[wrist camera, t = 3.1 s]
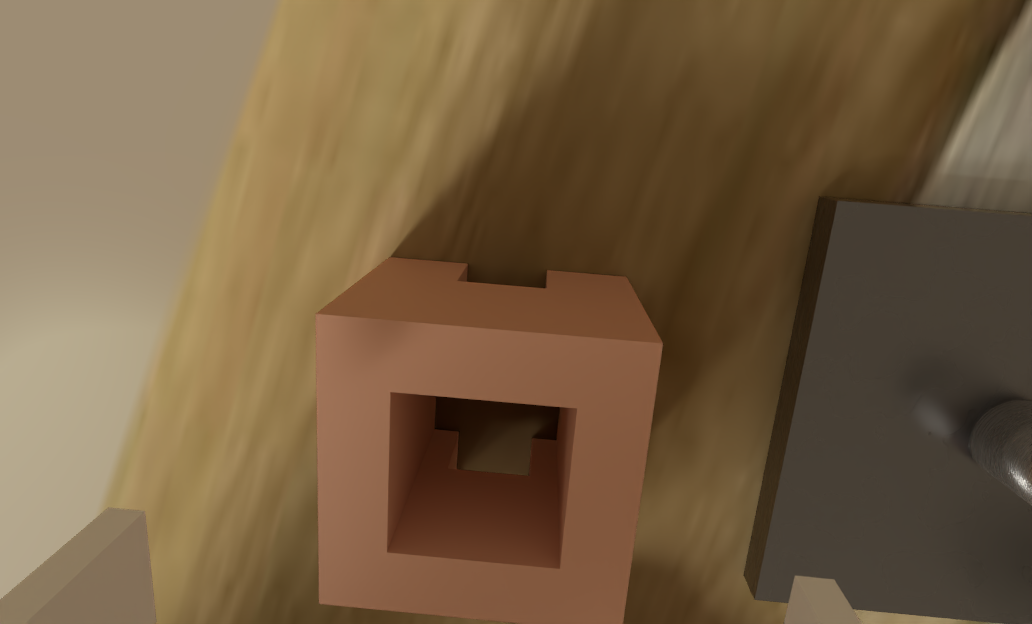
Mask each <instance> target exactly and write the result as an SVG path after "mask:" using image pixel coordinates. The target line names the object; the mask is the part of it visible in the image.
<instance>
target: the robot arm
mask: <svg viewBox="0 0 1032 624" xmlns="http://www.w3.org/2000/svg"><path fill="white" fill-rule="evenodd" d="M155 623H156V612H155V603H154V593H153V583H152V574H151V564H150V554H149V545H148V535H147V525H146V516H145V511H139V510H129V509H119V508H109V507H108V508H107V509H106V510H105V511H104V512H103V513H101V514H100V515H99V516H98V517H97V518H96V519H94V520H93V521H92V522H91V523H90V524H88V525H87V526H86V527H85V528H84V529H83V530H81V531H80V532H79V533H78V534H77V535H76V536H74V537H73V538H72V539H71V540H70V541H69V542H67V543H66V544H65V545H64V546H63V547H62V548H60V549H59V550H58V551H57V552H56V553H55V554H53V555H52V556H51V557H50V558H49V559H47V560H46V561H45V562H44V563H43V564H42V565H40V566H39V567H38V568H37V569H36V570H35V571H33V572H32V573H31V574H30V575H29V576H28V577H26V578H25V579H24V580H23V581H22V582H20V584H18V585H17V586H16V587H15V588H14V589H12V590H11V591H10V592H9V593H8V594H6V595H5V596H4V597H3V598H2V599H1V600H0V624H155ZM784 624H862V623H861V622H860V620H859V618H858V617H857V615H856V614H855V612H854V610H853V609H852V607H851V606H850V604H849V602H848V601H847V599H846V598H845V596H844V594H843V593H842V591H841V589H840V588H839V586H838V585H837V583H836V581H835V580H834V579H825V578H815V577H805V576H795V577H794V582H793V586H792V590H791V594H790V599H789V603H788V607H787V612H786V616H785V620H784Z"/></svg>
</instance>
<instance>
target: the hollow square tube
mask: <svg viewBox="0 0 1032 624" xmlns="http://www.w3.org/2000/svg"><path fill="white" fill-rule="evenodd" d="M467 272H468V264H467V263H455V262H443V261H431V260H418V259H406V258H394V257H389V258H388V259H386V260H385V261H384V262H383V263H381V264H380V265H379V266H377V267H376V268H375V269H373V270H372V271H371V272H370V273H368V274H367V275H366V276H364V277H363V278H362V279H360V280H359V281H358V282H357V283H355V284H354V285H353V286H351V287H350V288H349V289H347V290H346V291H345V292H344V293H342V294H341V295H340V296H338V297H337V298H336V299H334V300H333V301H332V302H331V303H329V304H328V305H327V306H325V307H324V308H323V309H321V310H320V311H319V312H318V313H316V385H317V472H318V558H319V604H326V605H336V606H346V607H356V608H367V609H377V610H387V611H397V612H407V613H418V614H428V615H438V616H448V617H458V618H469V619H479V620H489V621H499V622H509V623H520V624H623V619H624V612H625V606H626V599H627V592H628V585H629V578H630V571H631V564H632V557H633V550H634V543H635V536H636V529H637V522H638V515H639V508H640V501H641V494H642V487H643V480H644V473H645V466H646V459H647V452H648V445H649V438H650V431H651V425H652V418H653V411H654V404H655V397H656V390H657V383H658V376H659V369H660V362H661V355H662V348H663V342H662V341H661V339H660V337H659V335H658V333H657V331H656V330H655V328H654V326H653V324H652V322H651V321H650V319H649V317H648V315H647V313H646V311H645V310H644V308H643V306H642V304H641V302H640V301H639V299H638V297H637V295H636V293H635V291H634V290H633V288H632V286H631V284H630V282H629V280H628V279H627V277H624V276H612V275H600V274H588V273H576V272H564V271H552V270H547V275H546V286H545V288H534V287H523V286H511V285H499V284H487V283H475V282H467ZM436 396H441V397H453V398H464V399H475V400H486V401H498V402H509V403H520V404H532V405H543V406H554V407H560V411H559V421H558V431H557V440H547V439H536V438H532V444H531V455H530V467H529V476H524V475H513V474H502V473H491V472H480V471H470V470H459V469H457V456H458V438H459V432H458V431H447V430H436V429H435V407H436Z"/></svg>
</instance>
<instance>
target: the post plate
mask: <svg viewBox="0 0 1032 624" xmlns="http://www.w3.org/2000/svg"><path fill="white" fill-rule="evenodd" d="M795 576H805V577H815V578H825V579H834V580H835V581H836V583H837V585H838V586H839V588H840V589H841V591H842V593H843V594H844V596H845V598H846V599H847V601H848V602H849V604H850V606H851V607H852V609H856V610H867V611H877V612H888V613H898V614H909V615H919V616H929V617H940V618H950V619H961V620H971V621H981V622H992V623H1002V624H1032V213H1023V212H1010V211H997V210H984V209H972V208H959V207H946V206H933V205H921V204H908V203H895V202H882V201H870V200H857V199H844V198H831V197H819V202H818V207H817V212H816V217H815V222H814V227H813V232H812V237H811V242H810V247H809V252H808V257H807V262H806V267H805V272H804V277H803V282H802V287H801V292H800V297H799V302H798V307H797V312H796V317H795V322H794V327H793V332H792V336H791V341H790V346H789V351H788V356H787V361H786V366H785V371H784V376H783V381H782V386H781V391H780V396H779V401H778V406H777V411H776V416H775V421H774V426H773V431H772V436H771V441H770V446H769V451H768V456H767V461H766V466H765V471H764V476H763V481H762V486H761V491H760V496H759V501H758V506H757V511H756V516H755V521H754V526H753V531H752V536H751V541H750V546H749V551H748V556H747V561H746V566H745V571H744V577H745V579H746V581H747V584H748V586H749V588H750V590H751V593H752V595H753V597H754V599H755V600H763V601H773V602H784V603H789V599H790V594H791V590H792V586H793V582H794V577H795Z"/></svg>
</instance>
